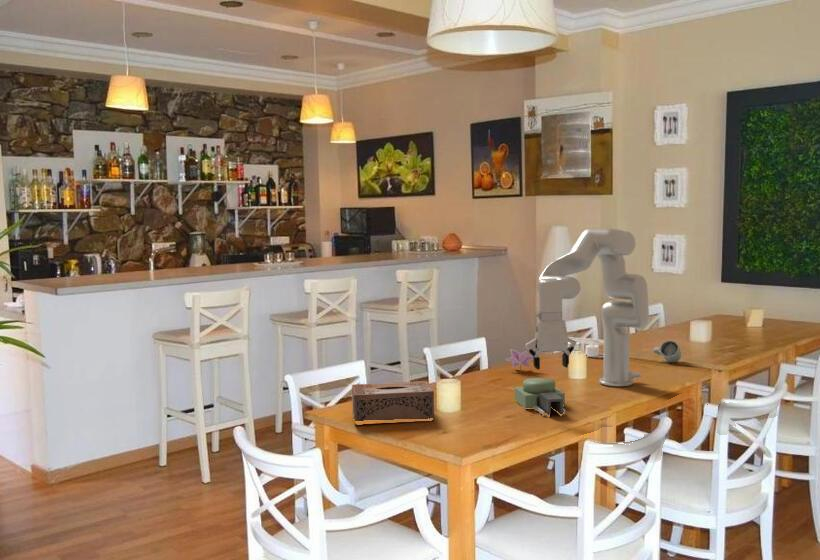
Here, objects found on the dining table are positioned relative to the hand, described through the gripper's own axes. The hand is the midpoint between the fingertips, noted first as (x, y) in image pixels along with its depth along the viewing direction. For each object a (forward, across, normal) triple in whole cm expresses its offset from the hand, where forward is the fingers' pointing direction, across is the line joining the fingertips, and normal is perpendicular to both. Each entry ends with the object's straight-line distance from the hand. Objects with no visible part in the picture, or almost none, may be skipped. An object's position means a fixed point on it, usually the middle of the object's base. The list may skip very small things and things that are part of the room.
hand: (551, 367), depth 251 cm
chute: (+16, 0, 0) cm, 16 cm away
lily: (+17, +9, +60) cm, 63 cm away
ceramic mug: (+17, +74, +62) cm, 99 cm away
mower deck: (+16, 0, +11) cm, 19 cm away
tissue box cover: (+15, -52, +8) cm, 55 cm away
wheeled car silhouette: (+17, +47, +85) cm, 99 cm away
